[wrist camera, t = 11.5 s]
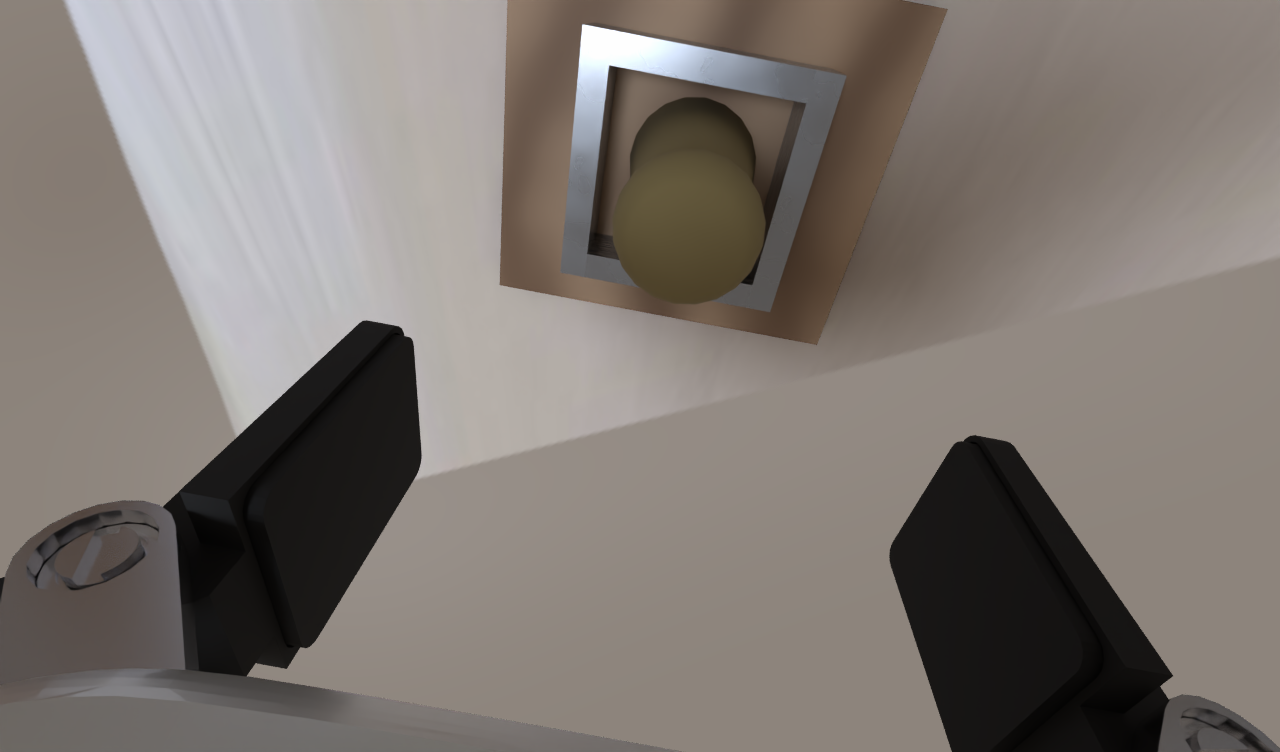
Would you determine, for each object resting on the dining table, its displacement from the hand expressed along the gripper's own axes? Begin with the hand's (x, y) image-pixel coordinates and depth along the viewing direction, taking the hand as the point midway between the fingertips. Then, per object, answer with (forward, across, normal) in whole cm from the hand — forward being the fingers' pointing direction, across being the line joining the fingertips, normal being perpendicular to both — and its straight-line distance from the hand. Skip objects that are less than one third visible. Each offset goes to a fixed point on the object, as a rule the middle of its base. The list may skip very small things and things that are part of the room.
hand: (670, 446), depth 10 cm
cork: (+21, 0, 0) cm, 21 cm away
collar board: (+22, 0, 0) cm, 22 cm away
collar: (+21, 0, 0) cm, 21 cm away
